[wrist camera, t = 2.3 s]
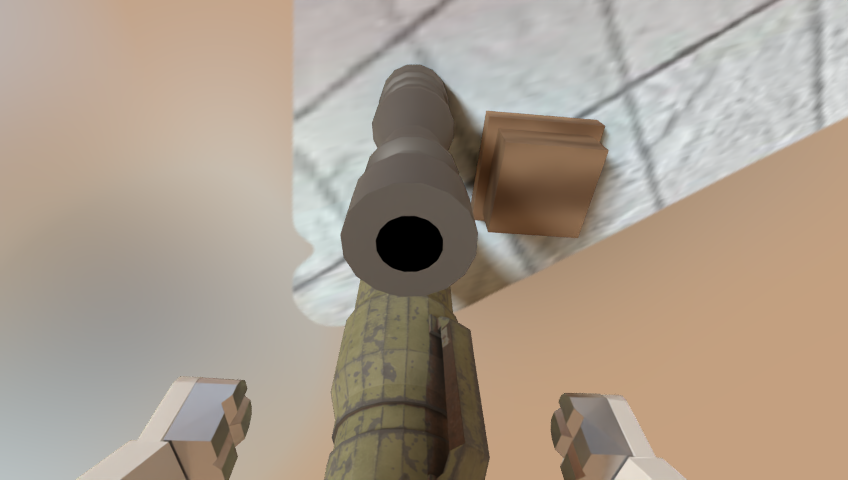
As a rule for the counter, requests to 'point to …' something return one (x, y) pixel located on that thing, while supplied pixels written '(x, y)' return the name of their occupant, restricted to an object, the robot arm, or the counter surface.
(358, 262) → the candle holder
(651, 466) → the robot arm
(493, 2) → the counter surface
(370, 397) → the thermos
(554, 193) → the walnut stand
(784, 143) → the counter surface
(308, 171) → the counter surface
